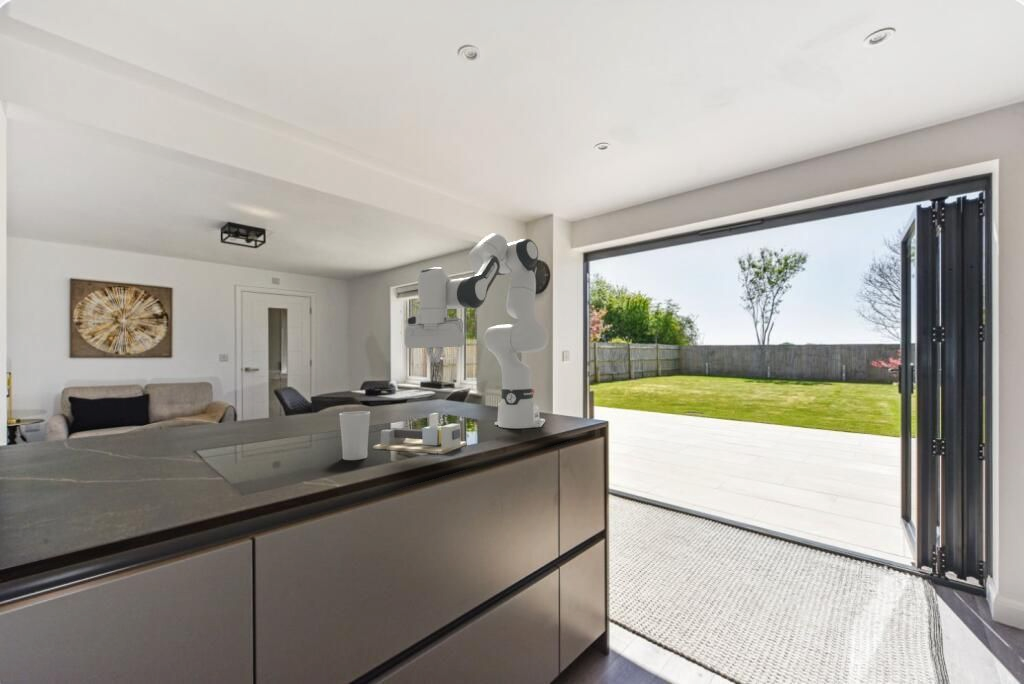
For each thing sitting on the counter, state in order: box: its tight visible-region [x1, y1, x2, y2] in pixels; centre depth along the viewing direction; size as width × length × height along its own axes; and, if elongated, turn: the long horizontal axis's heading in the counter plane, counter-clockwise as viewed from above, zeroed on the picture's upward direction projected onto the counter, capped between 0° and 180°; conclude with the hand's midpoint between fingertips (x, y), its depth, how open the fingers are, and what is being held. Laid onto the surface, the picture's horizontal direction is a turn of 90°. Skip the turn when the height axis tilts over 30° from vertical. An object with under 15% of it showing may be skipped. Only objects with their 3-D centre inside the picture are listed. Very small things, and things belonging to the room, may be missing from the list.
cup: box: [339, 410, 371, 461], centre depth 121 cm, size 8×8×12 cm
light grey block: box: [380, 426, 406, 445], centre depth 138 cm, size 3×8×4 cm, turn 158°
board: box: [372, 438, 468, 455], centre depth 134 cm, size 24×14×1 cm, turn 68°
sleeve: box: [421, 412, 443, 445], centre depth 133 cm, size 5×5×9 cm
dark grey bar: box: [389, 427, 441, 443], centre depth 135 cm, size 20×4×4 cm, turn 68°
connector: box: [441, 423, 462, 448], centre depth 130 cm, size 4×6×6 cm, turn 158°
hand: (435, 362), depth 141 cm, fingers closed
